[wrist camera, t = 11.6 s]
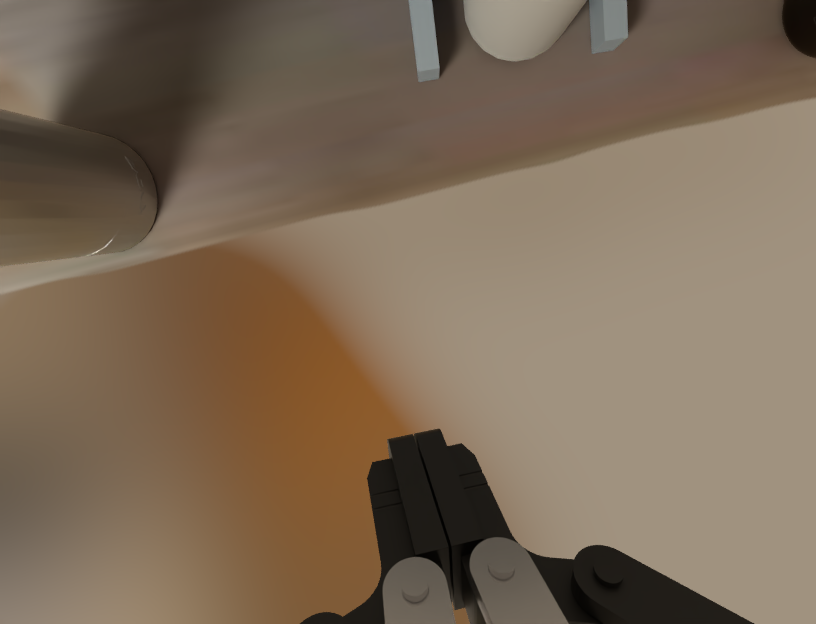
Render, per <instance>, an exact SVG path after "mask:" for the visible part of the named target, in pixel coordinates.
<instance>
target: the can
mask: <svg viewBox="0 0 816 624" xmlns="http://www.w3.org/2000/svg"><path fill="white" fill-rule="evenodd" d="M586 1H587V0H464V2H463V3H464V13H465V21H466V24H467V26H468V28H469V31H470V33H471V35H472V38H473V39H474V40H475V41H476V42H477V43H478V44H479V46H480V47H481V48H482V49H483V50H484V51H486V52H487V53H489V54H491V55H493V56H494V57H496V58H498V59H503V60H508V61H514V62H515V61H521V60H527V59H532V58H534V57H536V56H537V55H539V54H541V53H543V52H545V51H547V50H548V49H549V48H550V47H551V46H552V45H553V44H554V43H555V42H556V41H557V40H558V39H559V38H560V37H561V35H562V34H563V33H564V31H565V30H566V29H567V27H568V26H569V24H570V23H571V22H572V20H573V19H574V18H575V16H576V15H577V14H578V12H579V11H580V9H581V8H582V7H583V5H584V4H585V3H586Z"/></svg>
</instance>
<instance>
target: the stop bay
mask: <svg viewBox="0 0 816 624" xmlns="http://www.w3.org/2000/svg"><path fill="white" fill-rule="evenodd" d="M409 9H410V17H411V25H412V33H413V41H414V49H415V57H416V65H417V73H418V81H419V82H422V81H428V80H434V79H439V69H440V67H439V59H438V50H437V41H436V32H435V24H434V15H433V6H432V0H409ZM589 9H590V28H591V47H592V54H594V53H601V52H607V51H613V50H614V49H615V48H617V47H618V46H619V45H620V44H621V43H622V42H623V41H624V40H626V39H627V38H628V20H627V0H589Z"/></svg>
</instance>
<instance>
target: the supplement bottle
mask: <svg viewBox="0 0 816 624" xmlns="http://www.w3.org/2000/svg"><path fill="white" fill-rule="evenodd" d="M782 21H783V27H784V31H785V34H786V36H787V38H788V40H789V41H790V42H791V44H792V45H793V46H794V47H795V48H796V49H797V50H798V51H800V52H801V53H803V54H805V55H807V56H810V57H814V58H816V0H784V4H783V11H782Z"/></svg>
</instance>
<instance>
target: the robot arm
mask: <svg viewBox="0 0 816 624" xmlns="http://www.w3.org/2000/svg"><path fill="white" fill-rule="evenodd" d="M156 213H157V192H156V186H155V183H154V180H153V177H152V174H151V173H150V171H149V169H148V167H147V166H146V164H145V162H144V161H143V160H142V159H141V157H140V156H139V155H138V154H137V153H136V152H135V151H134V150H133V149H131V148H130V147H129V146H128V145H126V144H125V143H123V142H121V141H119V140H117V139H115V138H113V137H110V136H106V135H103V134H99V133H95V132H91V131H87V130H83V129H78V128H74V127H71V126H67V125H63V124H59V123H55V122H51V121H47V120H43V119H39V118H35V117H31V116H27V115H22V114H18V113H14V112H10V111H6V110H2V109H0V267H3V266H11V265H19V264H27V263H36V262H44V261H52V260H60V259H68V258H78V257H86V256H94V255H101V254H109V253H117V252H122V251H125V250H127V249H130V248H132V247H134V246H135V245H136V244H138V243H139V242H141V241H142V240H143V238H144V237H145V236H146V235H147V234H148V232H149V231H150V229H151V227H152V225H153V223H154V220H155V216H156ZM388 449H389V457H390V459H385V460H381V461H376V462H372V465H371V468H370V471H369V475H368V478H367V480H368V486H369V492H370V498H371V504H372V511H373V516H374V523H375V529H376V535H377V541H378V547H379V553H380V560H381V568H382V569H381V577H380V581H379V583H378V586H377V588H376V589H375V591H374V593H373V594H372V595H371V597H370V598H369V599H368V600H367V601H366V602H365V603H363V604H362V605H360V606H359V607H357V608H356V609H354V610H353V611H351V612H350V613H348V614H347V615H345V616H343V617H342V616H340V615H338V614H335V613H330V612H323V613H318V614H315V615H312V616H311V617H309V618H307V619H305V620H304V621H303V622H301V623H300V624H456V623H455V618H454V613H453V608H452V602H453V605H454V609H455V610H457V609H461V608H466V611H467V615H468V618H469V621H470V624H754V623H752V622H750V621H748V620H746V619H744V618H743V617H740V616H739V615H737V614H735V613H733V612H732V611H730V610H728V609H726V608H724V607H722V606H720V605H718V604H717V603H715V602H713V601H711V600H709V599H707V598H706V597H704V596H702V595H700V594H698V593H696V592H694V591H693V590H690V589H689V588H687V587H685V586H683V585H681V584H680V583H678V582H676V581H674V580H672V579H670V578H668V577H667V576H665V575H663V574H661V573H659V572H657V571H655V570H653V569H651V568H650V567H648V566H646V565H644V564H642V563H641V562H639V561H637V560H635V559H633V558H631V557H629V556H628V555H626V554H624V553H622V552H620V551H618V550H616V549H614V548H611V547H608V546H603V545H593V546H588V547H586V548H584V549H582V550H581V551H580V552H578V554H577V555H576V557H575V559H574V560H573V559H561V558H550V557H543V556H539V555H536V554H534V553H532V552H530V551H528V550H526V549H525V548H523V547H522V546H521V545H520V544H519V543H518V542H517V541H516V540H515V539H514V537H513V536H512V534H511V533H510V530H509V528H508V526H507V524H506V522H505V519H504V517H503V515H502V513H501V511H500V509H499V507H498V504H497V502H496V500H495V498H494V496H493V493H492V491H491V489H490V487H489V486H488V484H487V481H486V478H485V476H484V474H483V473H482V470H481V467H480V466H479V463H478V462H477V459H476V457H475V455H474V454H473V453H472V452H470V450H468V449H467V448H466V447H465V446H464V445H463V444H462V443H461V444H456V445H452V446H447V445H446V442H445V440H444V437H443V435H442V432H441V430H440V429H435V430H430V431H425V432H420V433H415V434H414V436H413V434H411V435H406V436H401V437H396V438H391V439H388Z"/></svg>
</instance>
